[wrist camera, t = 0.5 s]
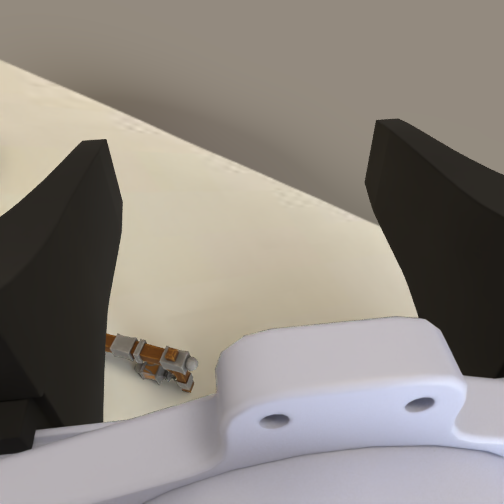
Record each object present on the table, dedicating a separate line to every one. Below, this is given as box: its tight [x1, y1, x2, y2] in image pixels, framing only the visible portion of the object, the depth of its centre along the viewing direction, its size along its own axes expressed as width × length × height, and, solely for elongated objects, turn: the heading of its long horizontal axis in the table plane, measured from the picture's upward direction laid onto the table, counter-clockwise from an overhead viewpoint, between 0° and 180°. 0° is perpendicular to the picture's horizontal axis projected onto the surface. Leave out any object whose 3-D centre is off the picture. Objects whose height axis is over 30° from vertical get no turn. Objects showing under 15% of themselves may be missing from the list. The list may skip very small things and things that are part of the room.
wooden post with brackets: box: [105, 334, 198, 393], centre depth 27 cm, size 2×8×4 cm, turn 72°
